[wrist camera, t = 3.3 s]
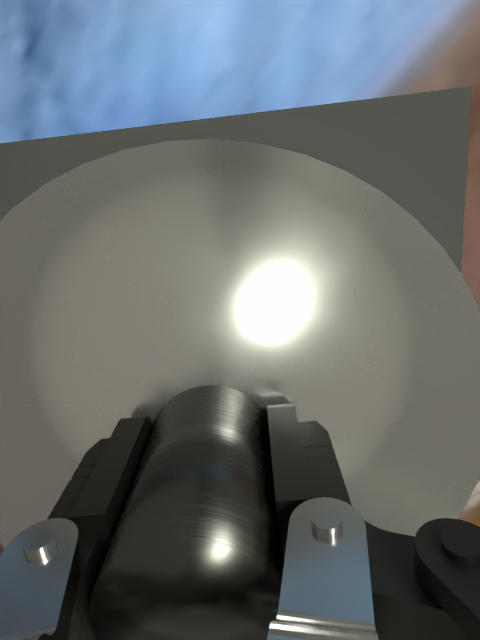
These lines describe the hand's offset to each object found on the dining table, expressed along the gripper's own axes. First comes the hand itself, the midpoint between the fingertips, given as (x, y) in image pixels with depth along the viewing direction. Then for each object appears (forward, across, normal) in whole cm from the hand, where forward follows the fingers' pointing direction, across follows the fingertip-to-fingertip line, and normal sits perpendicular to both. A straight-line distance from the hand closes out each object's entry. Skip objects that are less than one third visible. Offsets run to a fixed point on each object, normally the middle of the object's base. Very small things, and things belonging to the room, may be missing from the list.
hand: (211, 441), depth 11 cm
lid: (+1, 0, 0) cm, 1 cm away
